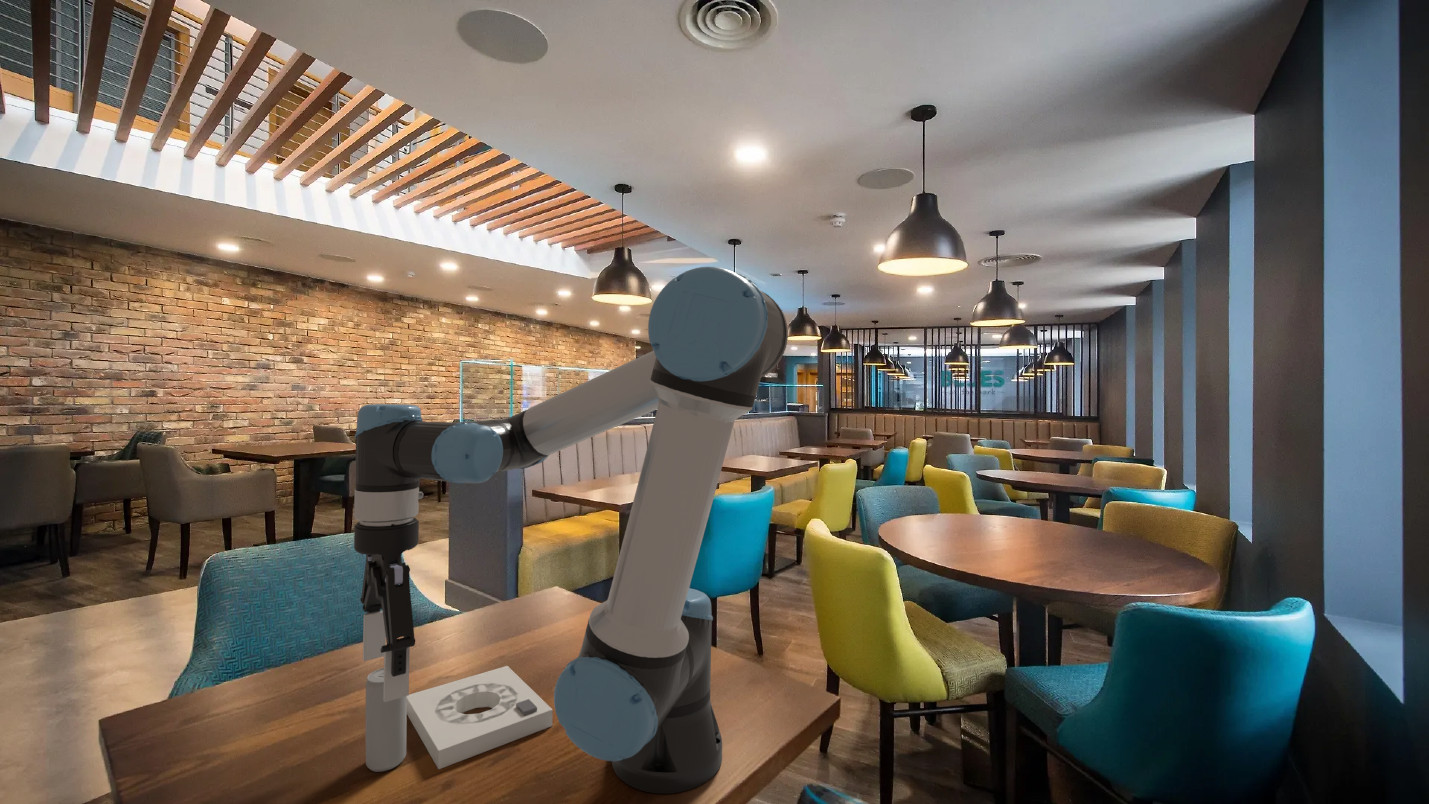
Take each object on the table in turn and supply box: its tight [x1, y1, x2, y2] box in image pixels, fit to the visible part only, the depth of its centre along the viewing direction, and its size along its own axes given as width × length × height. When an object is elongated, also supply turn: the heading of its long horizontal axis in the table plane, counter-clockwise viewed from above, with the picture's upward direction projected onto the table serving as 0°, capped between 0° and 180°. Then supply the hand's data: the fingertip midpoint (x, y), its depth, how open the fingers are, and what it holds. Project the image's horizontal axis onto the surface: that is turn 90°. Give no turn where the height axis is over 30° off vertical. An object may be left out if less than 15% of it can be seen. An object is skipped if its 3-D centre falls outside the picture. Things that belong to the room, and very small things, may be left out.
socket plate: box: [407, 665, 554, 770], centre depth 89 cm, size 18×16×3 cm
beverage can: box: [365, 667, 408, 773], centre depth 78 cm, size 5×5×12 cm
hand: (384, 676), depth 78 cm, fingers open, 13 cm apart
